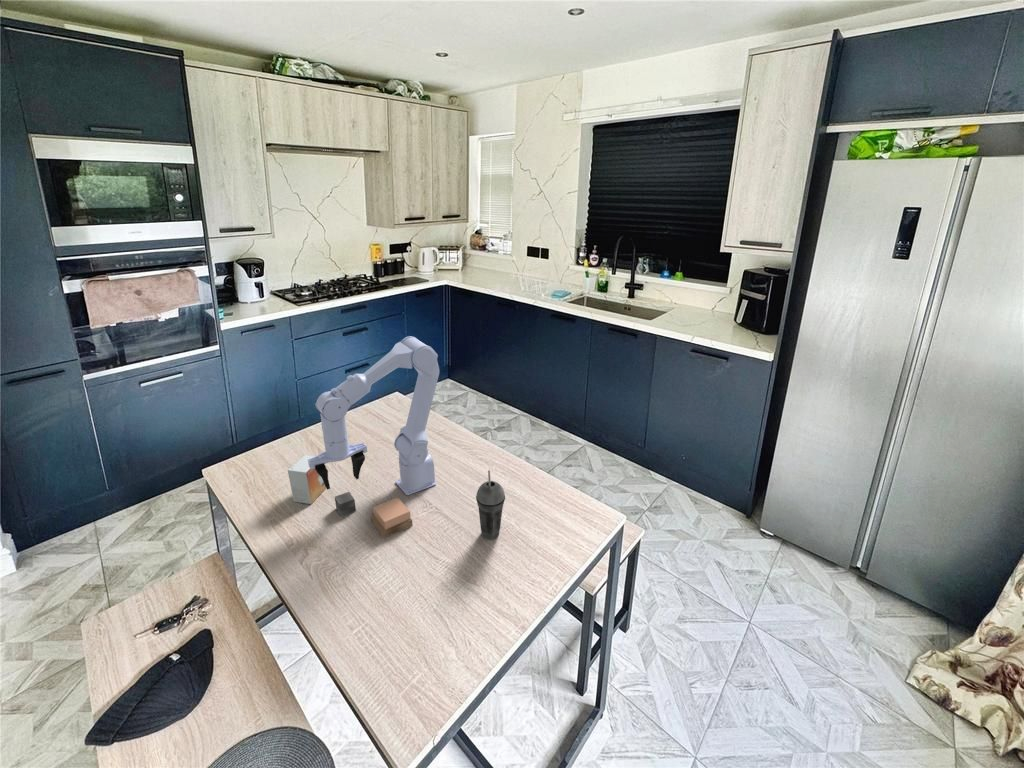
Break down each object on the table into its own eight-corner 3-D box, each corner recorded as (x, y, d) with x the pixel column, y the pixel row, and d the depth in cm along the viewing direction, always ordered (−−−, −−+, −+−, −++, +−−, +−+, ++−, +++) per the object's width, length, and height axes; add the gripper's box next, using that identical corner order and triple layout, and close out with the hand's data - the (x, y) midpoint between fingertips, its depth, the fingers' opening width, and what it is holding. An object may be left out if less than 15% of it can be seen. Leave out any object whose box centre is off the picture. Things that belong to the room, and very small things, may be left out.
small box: (311, 505, 136) (305, 473, 131) (293, 502, 137) (286, 470, 132) (327, 487, 143) (322, 456, 139) (309, 485, 144) (304, 454, 140)
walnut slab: (399, 510, 135) (398, 503, 134) (412, 527, 130) (412, 519, 128) (371, 522, 131) (370, 514, 130) (383, 539, 125) (382, 531, 124)
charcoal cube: (350, 503, 137) (349, 491, 135) (356, 511, 134) (354, 499, 132) (336, 508, 135) (334, 496, 133) (341, 516, 132) (339, 504, 130)
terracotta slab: (398, 504, 134) (397, 497, 133) (410, 518, 129) (410, 511, 128) (374, 515, 130) (373, 507, 129) (385, 529, 125) (384, 522, 124)
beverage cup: (508, 528, 129) (510, 463, 121) (498, 546, 123) (499, 480, 115) (482, 521, 131) (482, 457, 123) (471, 539, 125) (470, 473, 117)
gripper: (358, 423, 132) (363, 466, 138) (301, 439, 124) (309, 483, 130) (368, 434, 127) (372, 478, 132) (309, 451, 119) (317, 497, 124)
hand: (342, 482), depth 131 cm, fingers open, 7 cm apart
